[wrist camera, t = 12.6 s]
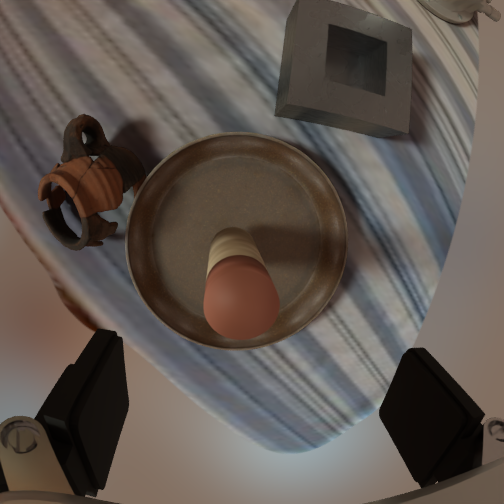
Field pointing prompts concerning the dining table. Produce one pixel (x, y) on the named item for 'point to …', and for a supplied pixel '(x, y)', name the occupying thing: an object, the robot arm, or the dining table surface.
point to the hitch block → (345, 69)
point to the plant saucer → (242, 216)
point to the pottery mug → (88, 183)
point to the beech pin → (238, 287)
